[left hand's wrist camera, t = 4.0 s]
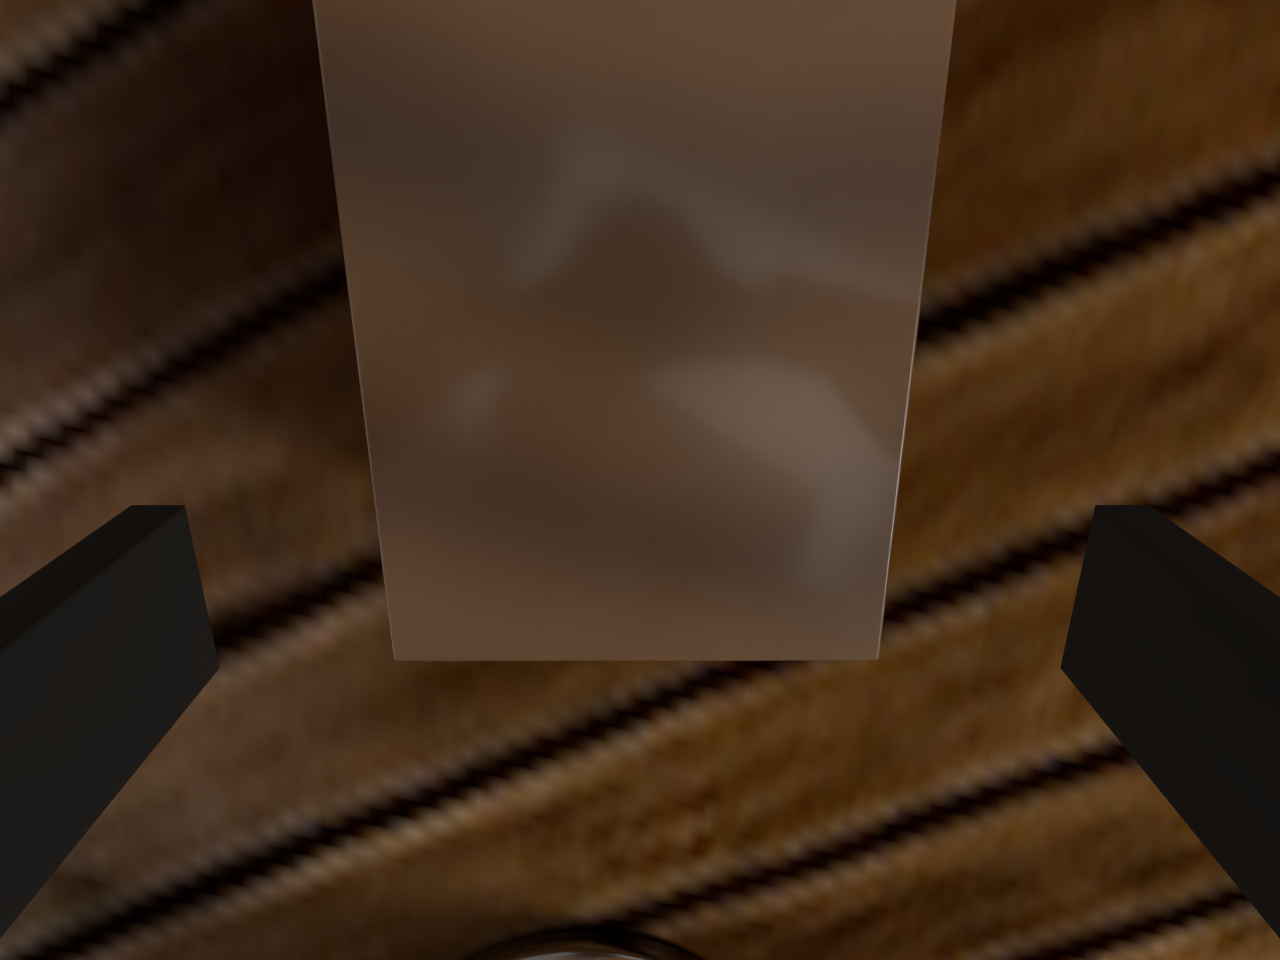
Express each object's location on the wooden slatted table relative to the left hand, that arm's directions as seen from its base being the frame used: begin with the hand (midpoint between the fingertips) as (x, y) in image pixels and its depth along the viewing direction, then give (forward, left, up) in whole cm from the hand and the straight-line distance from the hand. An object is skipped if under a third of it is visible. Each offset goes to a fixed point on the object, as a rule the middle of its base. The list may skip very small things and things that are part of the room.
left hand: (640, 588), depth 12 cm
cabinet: (+3, +5, -13) cm, 15 cm away
